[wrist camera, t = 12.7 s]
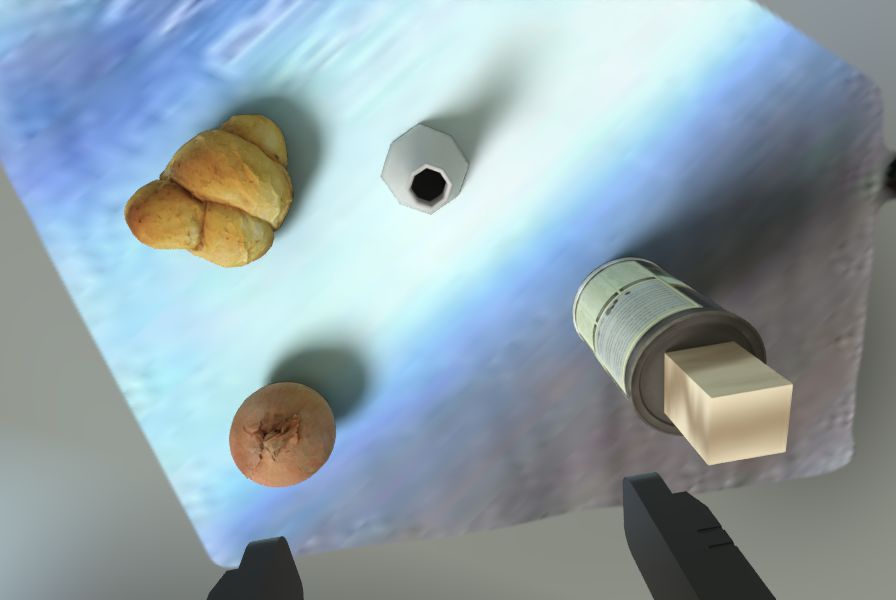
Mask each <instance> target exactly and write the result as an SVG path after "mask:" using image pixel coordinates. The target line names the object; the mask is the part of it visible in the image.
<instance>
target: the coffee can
mask: <svg viewBox="0 0 896 600" xmlns="http://www.w3.org/2000/svg"><path fill="white" fill-rule="evenodd" d="M572 311H573V322H574V326H575V329H576V331H577V333H578V334H579V336H580V338H581V339H582V340H583V341H584V342H585V343H586V344H587V345H588V347H589V348H590V349H591V351H592V352H593V354H594V355H595V356H596V358H597V359H598V360H599V362H600V363H601V364H602V366H603V367H604V369H605V370H606V371H607V373H608V374H609V375H610V377H611V378H612V379H613V381H614V382H615V383H616V385H617V386H618V387H619V389H620V390H621V391H622V393H623V394H624V395H625V397H626V398H627V399H628V401H629V403H630V405H631V407H632V409H633V410H634V412H635V413H636V415H637V416H638V417H639V418H640V419H641V420H642V421H643V422H644V423H645V424H646V425H648V426H650V427H651V428H652V429H654V430H656V431H659V432H662V433H665V434H669V435H674V436H684V435H683V434H682V433H681V432H680V430H679V429H678V428H677V427H676V426H675V424H674V423H673V422H672V421H671V420H670V418H669V417H668V416H667V415H666V414H665V412H664V380H665V353H668V352H673V351H679V350H685V349H691V348H697V347H703V346H709V345H715V344H720V343H726V342H732V341H734V342H735V343H737V344H738V345H739V346H741V347H742V348H744V349H745V350H746V351H748V352H749V353H750V354H752V355H753V356H755V357H756V358H757V359H759V360H760V361H761V362H763V363H764V364H766V351H765V347H764V343H763V341H762V339H761V337H760V335H759V334H758V332H757V330H756V329H755V328H754V327H753V326H752V325H751V324H750V323H748V322H747V321H746V320H744V319H742V318H741V317H739V316H737V315H736V314H734V313H731V312H729V311H727V310H725V309H723V308H722V307H720V306H719V305H717V304H716V303H714V302H713V301H711V300H709V299H708V298H706V297H705V296H703V295H702V294H700V293H698V292H697V291H695V290H694V289H692V288H691V287H689V286H688V285H686V284H684V283H683V282H681V281H680V280H678V279H677V278H675V277H674V276H672V275H670V274H669V273H668V272H666V271H664V270H663V269H662V268H660V267H659V266H658V265H656V264H655V263H653V262H651V261H648V260H645V259H641V258H633V257H627V258H620V259H616V260H613V261H610V262H608V263H606V264H604V265H602V266H600V267H599V268H597V269H596V270H595V271H593V272H592V273H591V274H590V275H589V276H588V277H587V278H586V280H585V281H584V282H583V283H582V285H581V286H580V288H579V290H578V292H577V294H576V297H575V300H574V305H573V310H572Z"/></svg>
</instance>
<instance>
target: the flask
mask: <svg viewBox="0 0 896 600" xmlns="http://www.w3.org/2000/svg"><path fill="white" fill-rule="evenodd" d="M468 166H469V164H468V162H467V161H466V159H465V158H464V156H463V154H462V153H461V151H460V150H459V148H458V146H457V145H456V143H455V142H454V140H453V138H452V137H451V136H450V135H447V134H445V133H442V132H439V131H437V130H434V129H431V128H429V127H426V126H423V125H421V124H418V125H416V126H415V127H413V128H412V129H411V130H409V131H408V132H406V133H405V134H404V135H402V136H401V137H399V138H398V139H397V140H395V141H394V142H392V143H391V144H390V147H389V151H388V154H387V157H386V161H385V164H384V167H383V170H382V174H381V178H382V179H383V180H384V182H385V183H386V185H387V186H388V188H389V189H390V190H391V192H392V193H393V195H394V196H395V198H396V199H397V200H398V202H399V203H400V204H401V205H404V206H407V207H410V208H413V209H416V210H419V211H422V212H425V213H428V214H432V213H434V212H435V211H437V210H438V209H440V208H441V207H443V206H444V205H446V204H447V203H448V202H450V201H451V200H453V199H454V198H456V197H457V196H458V194H459V191H460V188H461V186H462V183H463V180H464V177H465V175H466V172H467V169H468Z"/></svg>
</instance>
